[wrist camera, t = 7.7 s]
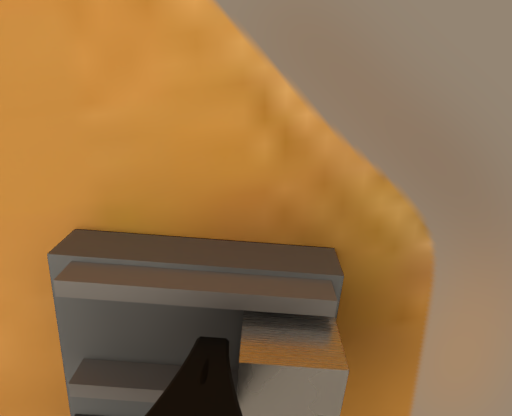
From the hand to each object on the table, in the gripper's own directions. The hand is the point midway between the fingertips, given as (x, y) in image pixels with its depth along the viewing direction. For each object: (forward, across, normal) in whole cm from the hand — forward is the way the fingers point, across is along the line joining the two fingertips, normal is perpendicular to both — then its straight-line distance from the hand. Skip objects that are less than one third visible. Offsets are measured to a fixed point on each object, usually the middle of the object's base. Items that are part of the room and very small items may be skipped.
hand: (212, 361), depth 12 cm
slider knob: (+1, -2, 0) cm, 3 cm away
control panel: (+4, +1, +4) cm, 6 cm away
